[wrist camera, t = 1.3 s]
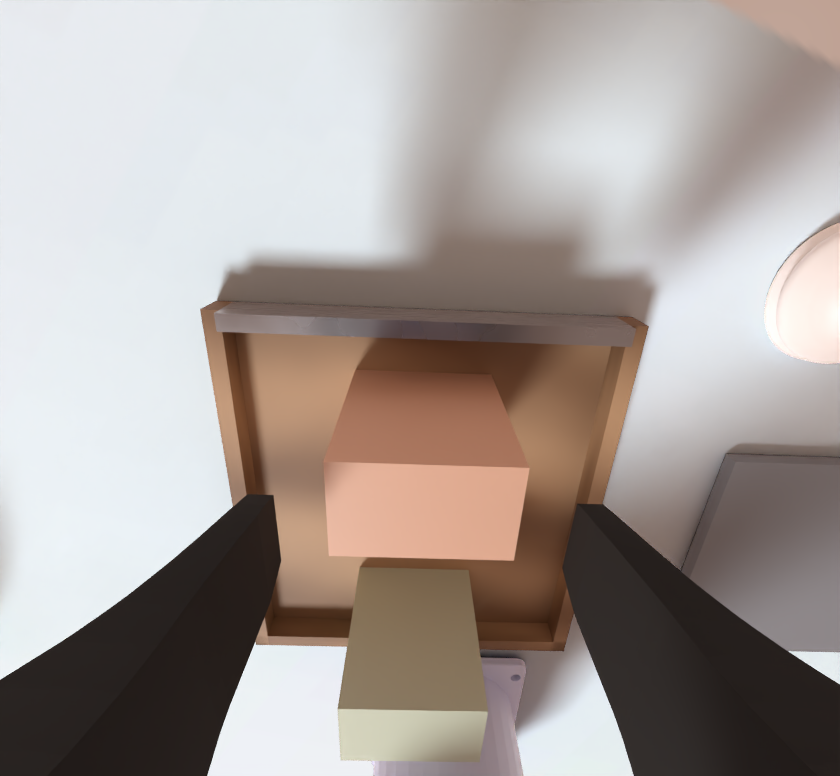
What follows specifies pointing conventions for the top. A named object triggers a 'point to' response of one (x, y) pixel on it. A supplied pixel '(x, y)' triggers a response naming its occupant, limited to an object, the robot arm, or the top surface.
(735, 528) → the mat
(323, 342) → the wooden serving tray
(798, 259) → the chess piece
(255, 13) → the top surface
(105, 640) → the robot arm
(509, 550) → the salmon pink box
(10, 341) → the top surface
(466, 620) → the khaki rectangular block
